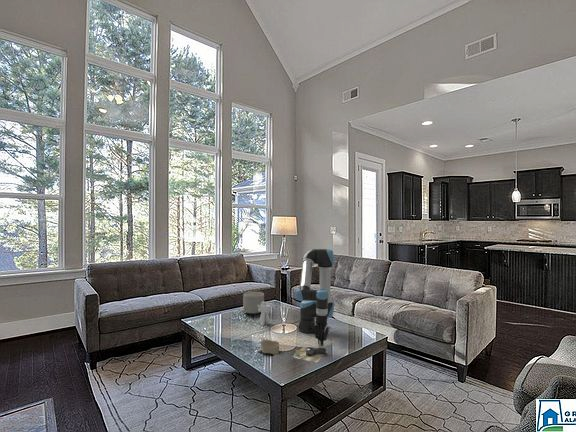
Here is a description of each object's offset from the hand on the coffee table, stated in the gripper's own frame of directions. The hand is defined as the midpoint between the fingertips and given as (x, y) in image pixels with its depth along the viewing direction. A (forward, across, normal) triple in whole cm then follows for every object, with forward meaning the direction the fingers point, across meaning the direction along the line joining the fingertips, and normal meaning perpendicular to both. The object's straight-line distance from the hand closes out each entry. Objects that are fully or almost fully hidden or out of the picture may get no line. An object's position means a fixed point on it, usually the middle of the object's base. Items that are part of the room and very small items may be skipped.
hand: (320, 350), depth 209 cm
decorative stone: (+4, -25, -22) cm, 34 cm away
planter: (+6, -99, +29) cm, 104 cm away
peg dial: (+1, -3, -7) cm, 8 cm away
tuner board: (+3, -3, -7) cm, 8 cm away
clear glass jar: (+5, -71, +18) cm, 73 cm away
